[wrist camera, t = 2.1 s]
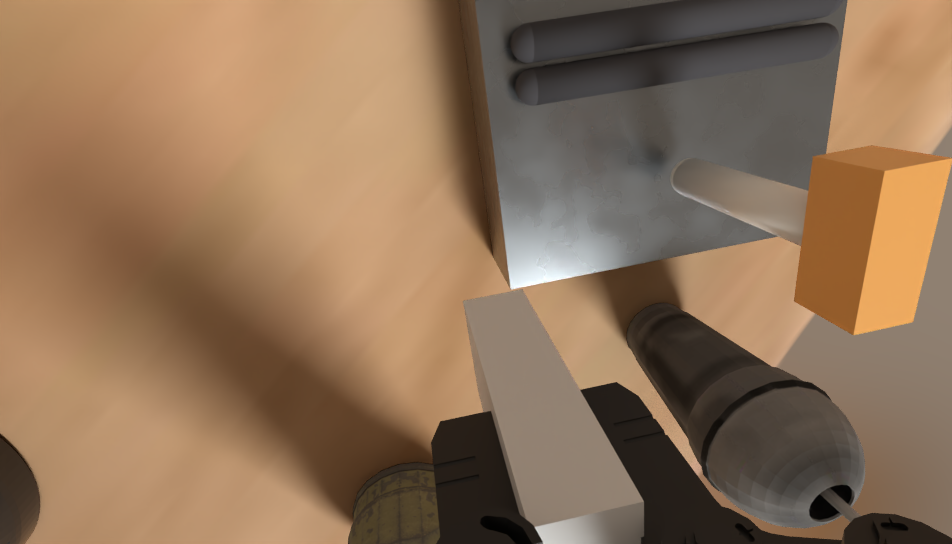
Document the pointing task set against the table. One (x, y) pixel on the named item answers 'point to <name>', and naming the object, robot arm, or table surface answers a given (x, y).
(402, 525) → the thermos
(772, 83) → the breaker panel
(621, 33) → the cord bundle
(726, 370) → the beverage cup
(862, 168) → the orange mallet
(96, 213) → the table surface
